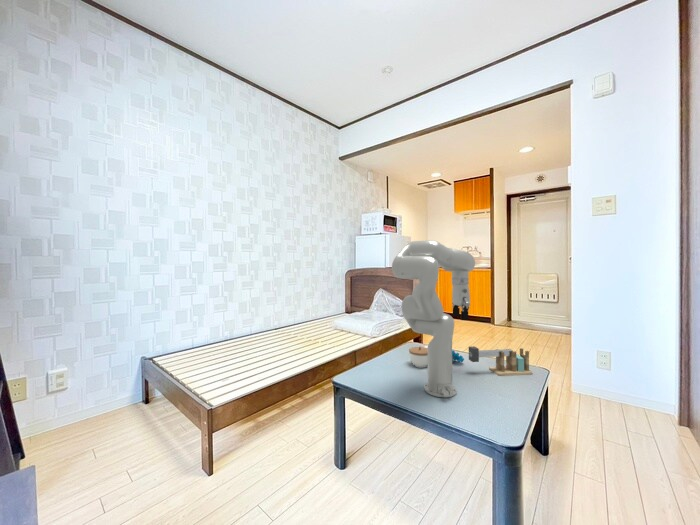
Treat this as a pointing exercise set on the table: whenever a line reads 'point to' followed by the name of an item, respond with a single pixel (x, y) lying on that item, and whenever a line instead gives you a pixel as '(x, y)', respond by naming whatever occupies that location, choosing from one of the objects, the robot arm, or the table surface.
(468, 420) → the table surface
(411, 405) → the table surface
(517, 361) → the block
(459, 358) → the blue coral
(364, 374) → the table surface
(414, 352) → the lidded jar
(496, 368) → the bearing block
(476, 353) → the grey mallet
